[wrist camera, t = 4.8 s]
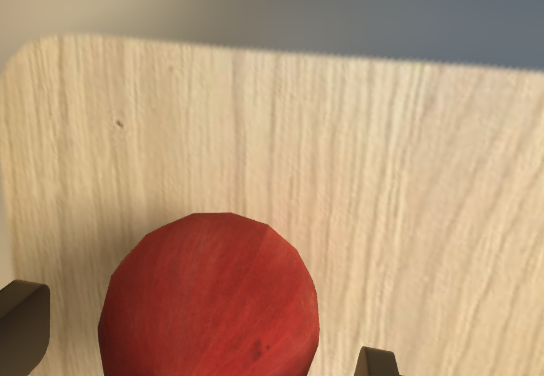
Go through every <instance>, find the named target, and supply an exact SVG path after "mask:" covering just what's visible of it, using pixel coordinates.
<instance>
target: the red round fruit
mask: <svg viewBox="0 0 544 376" xmlns="http://www.w3.org/2000/svg"><path fill="white" fill-rule="evenodd" d="M319 330H320V327H319V315H318V303H317V293H316V290H315V286H314V283H313V280H312V278H311V276H310V274H309V272H308V270H307V268H306V266H305V265H304V263H303V261H302V259H301V257H300V255H299V253H298V251H297V250H296V249H295V248H294V247H293V246H292V245H291V244H290V243H288V242H287V241H286V240H285V239H284V238H283V237H281V236H280V235H279V234H278V233H277V232H276V231H275V230H273V229H272V228H271V227H270V226H269V225H267V224H264V223H261V222H258V221H255V220H252V219H249V218H246V217H243V216H240V215H237V214H234V213H193V214H191V215H188V216H186V217H184V218H181V219H179V220H176V221H174V222H172V223H169V224H167V225H164V226H162V227H160V228H158V229H156V230H154V231H152V232H151V233H149V234H147V235H146V236H145V237H144V238H143V239H142V240H141V241H140V242H139V243H138V244H137V245H136V247H135V248H134V249H133V250H132V251H131V252H130V253H129V254H128V255H127V256H126V257H125V259H124V260H123V261H122V262H121V263H120V265H119V266H118V268H117V269H116V270H115V272H114V273H113V275H112V276H111V279H110V283H109V287H108V291H107V294H106V298H105V302H104V306H103V309H102V313H101V317H100V321H99V325H98V340H99V347H100V354H101V360H102V366H103V372H104V376H307V374H308V371H309V369H310V366H311V363H312V361H313V358H314V355H315V353H316V350H317V347H318V343H319Z"/></svg>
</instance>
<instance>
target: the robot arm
mask: <svg viewBox="0 0 544 376" xmlns="http://www.w3.org/2000/svg"><path fill="white" fill-rule="evenodd" d="M49 338H50V289H49V287H48V286H47V285H45V284H39V283H34V282H29V281H24V280H18V279H17V280H14V281H12V282H11V283H9V284H8V285H7V286H5V287H4V288H3V289H2V290H0V376H28V375H29V374H30V373H31V371H32V370H33V369H34V368H35V367H36V366H37V365H38V364H39V362H40V361H41V360H42V358H43V356H44V354H45V352H46V350H47V347H48V344H49ZM354 376H402V375H399V372H398V368H397V363H396V359H395V355H394V353H393V352H390V351H385V350H380V349H375V348H369V347H364V346H363V347H362V348H361V350H360V353H359V357H358V361H357V365H356V369H355V373H354Z"/></svg>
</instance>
